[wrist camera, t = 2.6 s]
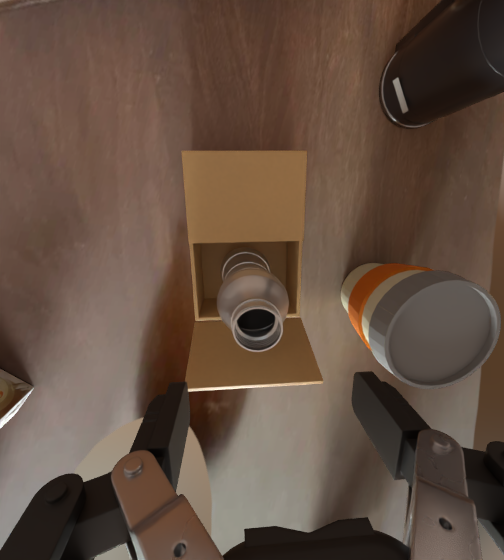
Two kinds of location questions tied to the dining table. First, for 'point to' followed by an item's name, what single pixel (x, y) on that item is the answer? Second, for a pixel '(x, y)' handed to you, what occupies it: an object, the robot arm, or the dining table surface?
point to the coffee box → (11, 395)
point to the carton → (244, 217)
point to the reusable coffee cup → (422, 321)
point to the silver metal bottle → (251, 300)
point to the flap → (249, 359)
